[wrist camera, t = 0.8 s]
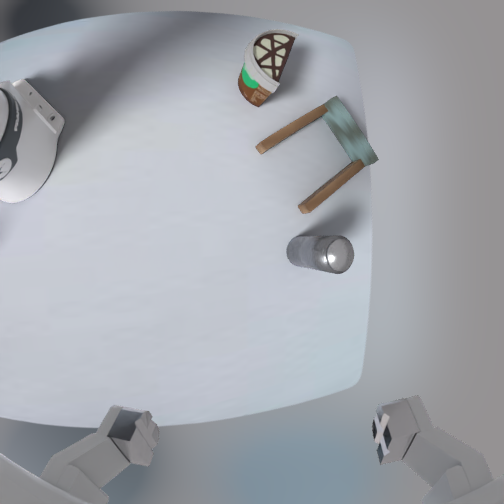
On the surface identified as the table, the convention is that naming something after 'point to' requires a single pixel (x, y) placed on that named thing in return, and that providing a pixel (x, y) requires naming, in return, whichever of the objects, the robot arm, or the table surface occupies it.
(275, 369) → the table surface
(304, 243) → the drinking glass
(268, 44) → the food container
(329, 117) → the keeper cradle
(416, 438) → the robot arm
